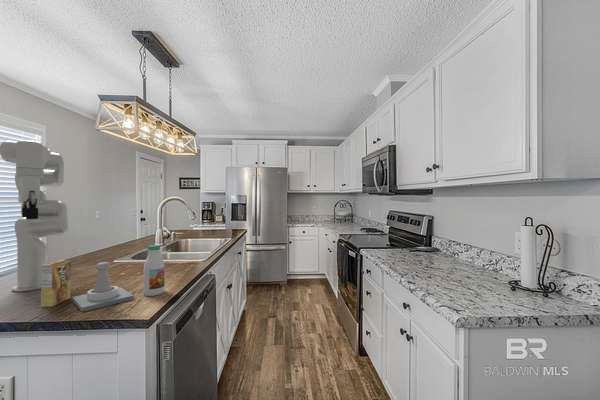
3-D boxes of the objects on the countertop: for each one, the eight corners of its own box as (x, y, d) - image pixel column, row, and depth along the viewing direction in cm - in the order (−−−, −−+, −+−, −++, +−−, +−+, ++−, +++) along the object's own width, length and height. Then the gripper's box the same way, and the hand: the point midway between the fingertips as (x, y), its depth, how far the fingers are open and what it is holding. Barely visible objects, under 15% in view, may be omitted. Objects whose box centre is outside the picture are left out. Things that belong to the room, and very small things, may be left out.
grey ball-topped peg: (89, 298, 102) (89, 264, 102) (103, 293, 108) (103, 260, 108) (101, 299, 101) (102, 264, 101) (115, 294, 107) (115, 261, 107)
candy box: (59, 298, 106) (59, 259, 106) (71, 298, 107) (71, 259, 107) (40, 307, 97) (40, 264, 98) (53, 306, 98) (53, 264, 98)
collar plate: (72, 300, 104) (72, 290, 104) (120, 290, 116) (120, 281, 116) (81, 311, 93) (81, 300, 93) (133, 299, 105) (133, 289, 105)
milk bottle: (140, 297, 107) (141, 247, 108) (146, 291, 115) (146, 244, 115) (162, 295, 109) (162, 246, 110) (166, 289, 117) (166, 243, 117)
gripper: (13, 173, 105) (12, 217, 105) (19, 171, 94) (18, 220, 95) (39, 175, 111) (39, 216, 111) (48, 173, 100) (47, 219, 100)
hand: (29, 218), depth 103 cm, fingers open, 9 cm apart
